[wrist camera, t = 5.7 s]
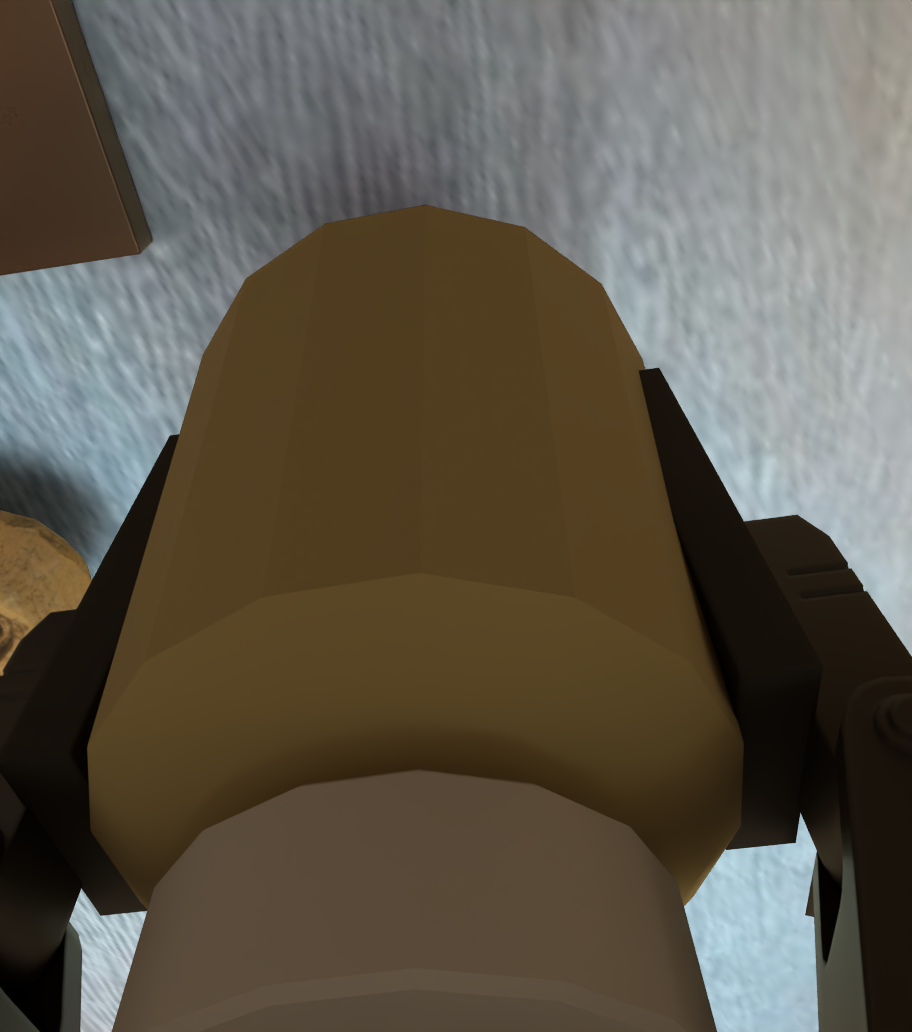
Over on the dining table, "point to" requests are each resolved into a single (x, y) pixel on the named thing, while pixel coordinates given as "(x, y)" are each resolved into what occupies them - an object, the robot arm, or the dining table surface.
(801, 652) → the robot arm
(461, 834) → the squeeze bottle
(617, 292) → the dining table surface
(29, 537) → the oil lamp
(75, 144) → the walnut board
